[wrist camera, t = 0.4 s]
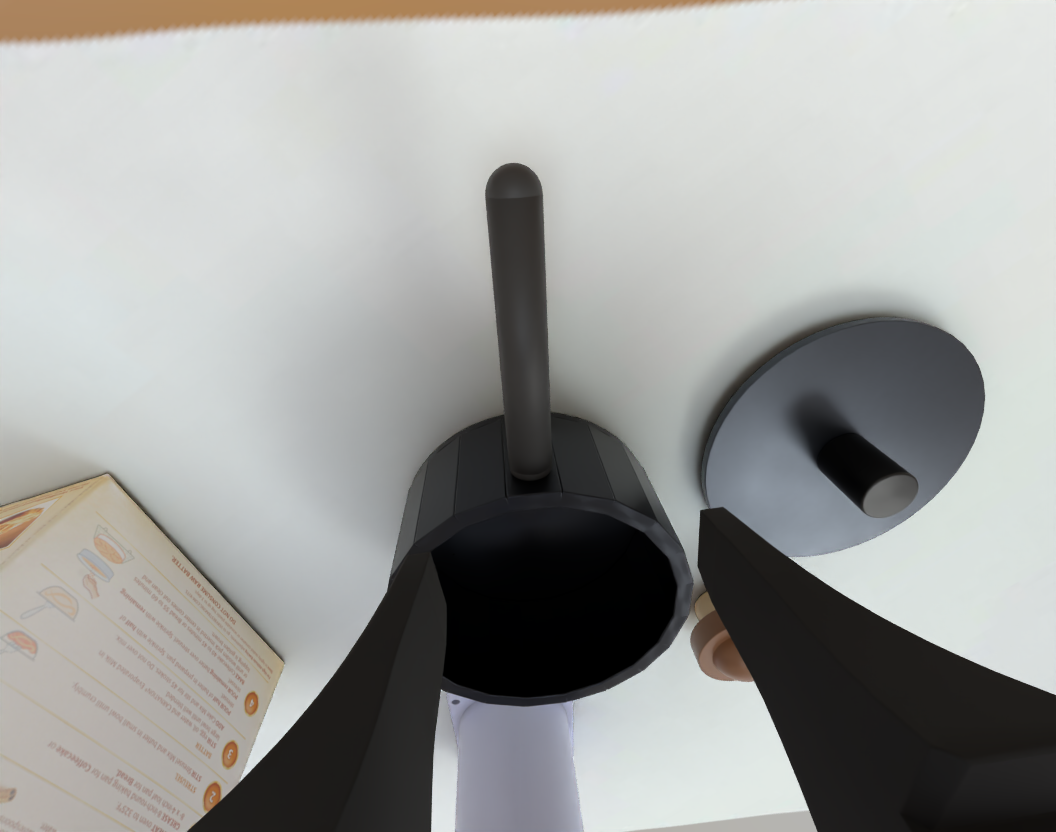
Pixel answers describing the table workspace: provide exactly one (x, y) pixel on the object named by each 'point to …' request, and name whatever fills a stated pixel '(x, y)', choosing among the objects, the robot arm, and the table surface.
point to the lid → (845, 434)
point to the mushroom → (716, 645)
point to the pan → (546, 565)
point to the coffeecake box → (117, 671)
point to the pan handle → (521, 315)
